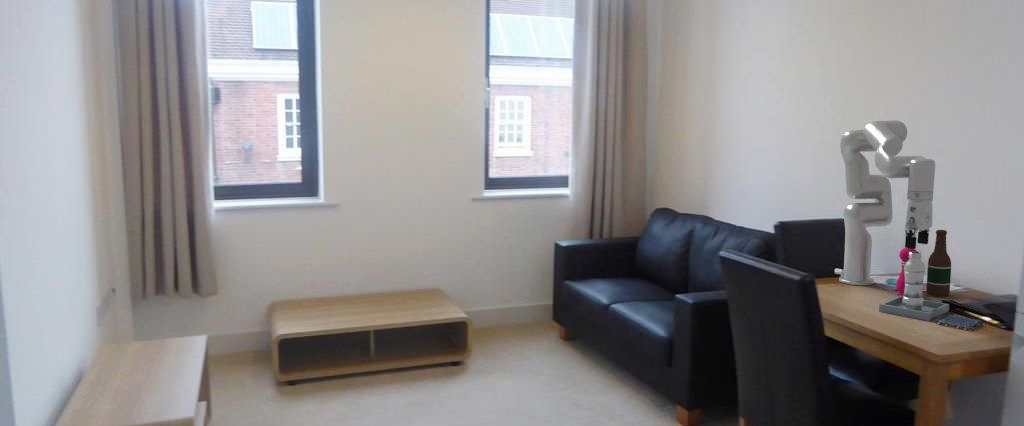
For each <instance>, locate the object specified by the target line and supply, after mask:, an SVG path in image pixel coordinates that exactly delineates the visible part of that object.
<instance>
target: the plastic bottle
mask: <svg viewBox="0 0 1024 426" xmlns="http://www.w3.org/2000/svg"><path fill="white" fill-rule="evenodd" d="M922 258H923V257H922V252H921V251H917V252H915V251H912V252H909V260H908V261H907V262H906V264H905V265H904V275H905V289H904V296H903V299H902V306H903V308H906V309H912V310H917V311H919V310H921V309H922V308H923V306H924V300H925V299H924V296H923V294H924V293H923V292H924V291H923V286H924V285H923V284H924V278H925V273H926V266H925V264H924V262H923V261H922V260H921V259H922Z"/></svg>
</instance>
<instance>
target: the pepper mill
mask: <svg viewBox="0 0 1024 426" xmlns="http://www.w3.org/2000/svg"><path fill="white" fill-rule="evenodd" d="M912 251H915V252H918V251H917V250H916V248H915V249H910V248H905V247H904V248H902V249H901V250H900V251H899V258H900V259H901V260H900V265H901V271H900V275H899V277H898V278H897V280H896V281H895V282H896V283H895V287H896V289H897V291H896V297H898V296H904V289H905V275H904V265H905V264H906V262H907V261H908V260H909V252H912Z"/></svg>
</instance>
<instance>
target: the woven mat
mask: <svg viewBox="0 0 1024 426" xmlns="http://www.w3.org/2000/svg"><path fill="white" fill-rule="evenodd" d="M936 321H937V322H936V324H937V326H941V325H942V326H943V327H944V326H945V327H949V328H952V329H957V330H959V329H960V330H964V331H968V332H972V331H973V330H976V329H977V328H980V327H981V326H983V325H984V322H983V320H979V319H975V318H969V317H964V316H958V315H954V314H951V315H950V314H947V315H945V316H943V317H940V318H938V319H936Z"/></svg>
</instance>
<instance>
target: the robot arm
mask: <svg viewBox="0 0 1024 426" xmlns="http://www.w3.org/2000/svg"><path fill="white" fill-rule="evenodd" d="M907 137H908V128H907V126H906V124H905V123H904V122H902V121H900V120H875V121H871V122H869V123H868V124H867V125H865V126H864V127H863V129H852V130H848V131H847V132H845V133H843V135H842V136H841V138H840V143H839V148H840V149H839V150H840V153H841V156H842V159H843V163H844V169H845V170H844V171H845V189H846V195H847V197H848V198H849V199H852V200H874V202H855V203H853V202H852V203H849V204H848V205H846V206H845V207H844V209H843V212H842V213H843V214H842V216H843V222H844V232H845V233H844V235H845V236H844V237H845V238H844V257H843V258H844V259H843V260H844V261H843V269H841V268H834V275H835V274H836V275H840V276H839V278H838V279H839V282H841V283H843V284H847V285H851V286H870V285H873V284H875V279H873V278H872V277H871V272H872V271H871V269H872V268H871V266H872V265H871V264H872V249H873V248H872V247H873V246H872V245H873V240H872V239H873V238H872V236H871V233H870V232H869V231H868V229H867V228H870V227H871V228H873V227H875V228H877V227H881V228H882V227H887V226H889V225H891V222H892V221H893V197H892V196H893V195H892V185H891V182H890V180H889V179H908V181H907V192H906V193H907V194H906V195H907V196H906V200H907V201H908V202H907V208H906V219H905V225H904V228H905V229H904V231H905V234H904V235H905V241H904V248H910V249H915V250H916V248H917V243H918V244H921V245H928V244H929V236H930V234H929V233H930V229H931V228H932V227H933V200H934V191H935V190H934V189H935V188H934V187H935V174H936V162H935V160H934V159H932V158H925V157H924V156H922V155H898V154H900V152H901V151H902V149H903V147H904V142H905V141H906V139H907ZM864 152H866V153H867V152H874V163H875V167H876V169H877V170H878V171H879V172H880V174H870V164H869V160H868V159H867V158H866V157H865V155H863V153H864Z"/></svg>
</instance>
